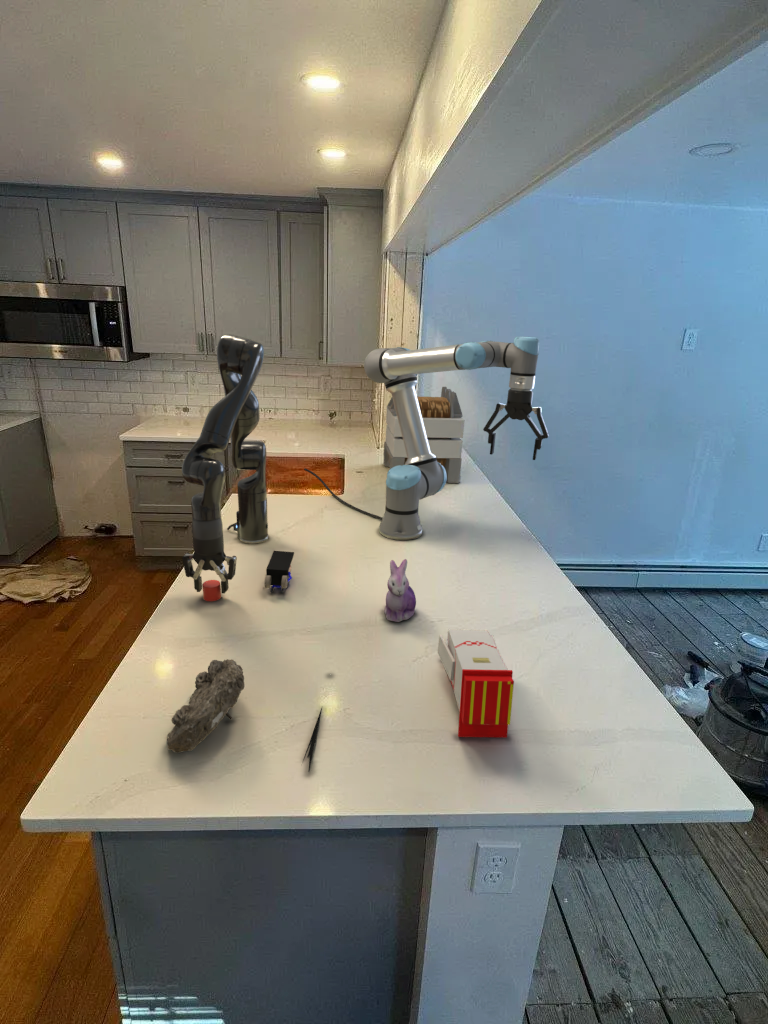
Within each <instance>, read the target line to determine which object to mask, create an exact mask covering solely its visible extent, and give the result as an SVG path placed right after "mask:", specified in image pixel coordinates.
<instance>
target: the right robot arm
mask: <svg viewBox="0 0 768 1024" xmlns="http://www.w3.org/2000/svg"><path fill="white" fill-rule="evenodd" d="M539 349H540V340H539V338H538V337H533V336H530V337H529V336H515V338H514V339H513V342H505V341H504V342H503V341H495V340H481V341H479V342H477V341H476V342H475V341H469V342H465V343H460V344H450V345H442V346H435V347H434V346H433V347H426V348H418V349H410V348H407V347H401V346H397V347H385V348H384V347H381V348H376V349H373V350H371V351H370V352H369V353H367V355H366V357H365V359H364V363H363V368H364V372H365V374H366V376H367V377H368V378H369V380H371V381H372V382H374V383H377V384H384V387H385V391H387V392H388V393H390V394H391V398H393V402H394V406H395V410H396V414H397V418H398V422H399V426H400V430H401V434H402V438H403V442H404V445H405V449H406V453H407V457H408V459H407V461H406V463H405V465H402V466H401V465H398V466H395V467H393V468H391V469H390V468H389V470H388V471H387V474H386V479H385V504H384V505H385V507H384V508H385V509H384V513H383V515H382V516H380V515H377V514H374V513H371V512H369V511H365V510H363V509H361V508H359V507H356V506H355V505H352V504H350V503H348V502H347V501H345V500H343V499H342V498H340V496H338V495H336V494H335V493H334V492H333V491H332V490H331V488H329V486H328V485H327V484H326V482H325V481H324V480H323V479H322V478H321V477H320V476H319V475H318V474H316V473H315V472H314V471H312V470H310V469H308V468H305V467H304V468H303V470H304V471H305V472H307V473H309V474H311V475H312V476H314V477H315V478H316V479H317V480H319V482H320V483H321V484H322V485H323V486H324V487H325V489H326V490H327V491H328V492H329V493H330V495H332V496H333V497H334V498H335V499H336V500H338V502H340V503H342V504H343V505H345V506H347V507H349V508H351V509H353V510H355V511H357V512H359V513H362V514H364V515H367V516H369V517H372V518H375V519H378V520H381V522H379V526H378V533H379V534H380V535H381V536H382V537H385V538H387V539H389V540H395V541H410V540H415V539H418V538H420V537H421V536H422V535H423V525H422V524H421V518H420V515H419V507H420V506H419V505H420V500H423V499H425V498H428V497H430V496H434V495H436V494H438V493H439V492H441V491H442V490H443V489H444V488H445V486H446V483H447V481H446V480H447V474H446V470H445V468H444V467H443V466H442V465H441V464H440V463H439V462H437V458H436V456H435V455H434V454H432V453H431V452H430V448H429V444H428V440H427V436H426V432H425V428H424V424H423V419H422V415H421V411H420V407H419V403H418V399H417V391H416V386H417V384H418V377H417V376H418V375H421V374H431V373H433V374H434V373H441V372H443V373H444V372H453V371H466V370H468V371H469V370H470V371H471V370H477V369H484V368H504V369H505V368H506V369H510V374H509V383H508V388H509V389H508V391H507V397H506V398H507V399H506V403H505V404H504V403H502V402H497V404H496V405H495V409H494V411H493V413H492V415H491V416H490V417H489V419H488V421H487V423H486V424H485V425H484V427H483V428H482V430H483V432H486V433H487V435H488V437H487V444H490V448H489V455H491V456H492V455H493V454H494V453H495V445H496V436H497V435H496V433H497V432H495V431H496V430H498V428H499V427H501V426H502V425H503V424H504V423H505V422H506V421H507V420H508V419H509V418H510V419H511V420H518V421H523V420H524V421H525V422H526V423H527V425H528V426H529V428H531V431H532V432H533V433H534V435H535V436H536V437H535V439H534V447H533V454H532V461H536V459H537V456H538V455H537V454H538V450H541V449H542V444H543V440H544V439H548V438H549V437H550V433H549V430H548V427H547V425H546V422H545V419H544V417H543V413H542V411H543V409H542V408H543V407H542V406H533V398H534V397H533V396H534V391H533V390H534V388H535V382H536V372H537V365H538V358H539V354H540V351H539ZM503 409H504V410H505V412H506V414H505V415H504V416H503V417H502V418H501V419H500V420H499V421H498V422H497V423H496V424H494V426H493V427H491V426H492V424H493V423H494V421H495V420H496V418H497V416H498V415H499V413H500V412H501V411H503ZM532 412H533V413H534V415H536V418H537V421H538V424H539V426H540V428H541V431H540V429H539V428H538V426H537V425H536V424H535V422H534V421H533V418H532V417H531V415H530V414H531V413H532Z"/></svg>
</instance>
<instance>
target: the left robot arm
mask: <svg viewBox="0 0 768 1024" xmlns="http://www.w3.org/2000/svg"><path fill="white" fill-rule="evenodd" d="M216 346H217V347H216V362H217V366H218V371H219V374H220V379H221V382H222V386H223V393H224V396H223V397H222V398H221V399H220V400H219V401H217V402H216V403H215V404H214V405H213V406H212V407H211V409H210V410H209V412H208V413H207V416H206V417H205V420H204V423H203V426H202V429H201V431H200V434H199V437H198V439H197V440H196V441H195V443H194V444H193V445H192V447H191V448H190V450H189V452H188V453H187V455H186V456H185V457H184V460H183V462H182V465H181V475H182V477H183V479H184V480H185V481H186V482H187V483H189V484H193V485H197V486H201V487H203V491H202V492H198V493H195V494H194V495H192V497H191V498H190V499H191V501H190V507H191V534H192V546H193V553H189V552H185V554H184V555H183V556H182V557H181V560H182V564H183V569H184V573H185V576H186V578H191V579H193V585H194V586H193V587H194V590H195V591H196V592H197V593H201V591H203V586H202V584H203V581H202V576H201V574H202V572H203V571H211V572H215V574H216V575H217V576H218V577H219V579H220V580H221V581H220V586H221V595H223V594H224V595H225V594H226V592H227V591H229V589H230V588H229V581H231V580H232V579H233V578H234V577H235V575H236V569H237V559H238V557H237V556H236V555H232V556H228V555H227V554H226V553H225V543H224V527H223V525H224V524H223V519H222V510H221V508H222V507H221V499H222V495H223V490H224V486H225V482H226V476H227V475H226V469H225V466H224V464H223V463H222V462H221V461H220V460H219V459H216V458H211V457H212V456H213V455H214V454H217V453H222V452H223V453H224V452H225V451H226V450H227V448H228V446H229V443H230V459H231V463H232V466H233V468H234V469H235V470H238V471H255V472H253V473H252V474H251V475H249V476H247V477H244V478H241V479H240V480H238V481H237V485H236V486H237V504H238V505H237V506H238V510H237V511H236V512H235V515H236V522H234V523H232V524H229V526H228V527H227V528H226V530H227V531H230V529H231V528H232V529H233V532H236V534H237V535H236V536H237V539H238V540H239V541H241V542H242V543H244V544H260V543H264V542H266V541H267V540H269V521H268V519H269V518H268V491H267V490H268V489H267V487H268V486H267V447H266V444H265V442H264V441H262V440H246V439H247V438H248V436H250V434H252V432H253V431H255V429H256V428H257V426H258V424H259V423H260V419H261V418H260V417H261V415H260V413H261V412H260V403H259V399H258V397H257V395H256V394H255V392H254V390H253V388H254V385H255V384H256V381H257V379H258V377H259V374H260V372H261V369H262V367H263V363H264V359H265V348H264V346H263V343H262V342H259V341H257V340H253V339H251V338H246V337H242V336H239V335H235V334H229V333H227V334H224V335H222V336H221V337H220V338H219V340H218V342H217V345H216ZM193 560H194V561H195V563H196V565H197V566H196V568H195V569H194V566H193ZM224 562H226V565H227V566H228V571H227V570H226V566H225V564H224Z"/></svg>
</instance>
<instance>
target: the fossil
mask: <svg viewBox="0 0 768 1024" xmlns="http://www.w3.org/2000/svg"><path fill="white" fill-rule="evenodd" d="M243 670H244V669H243V667H242V665H240V664H237V662H236V661H235V660H234V659H232V658H231V659H227V658H226V659H224V660H223V661H222V660H217V659H212V660H211V661H210V663H209V665H208V666H207V671H201V672H199V673H198V674H197V675H196V676H195V680H194V684H195V685H194V687H195V689H194V690H193V693H192V694H191V697H190V698H189V700H188V704H184V705H182V706H181V707H180V709H177V710H176V711H175V713H174V715H173V716H172V718H171V723H172V724H173V727H172V730H171V731H170V732H168V734H167V738H166V741H167V742H166V745H167V749H168V750H169V751H173V752H174V753H176V754H178V753H182V752H188V751H189V752H192V751H193V750H195V748H196V747H197V746H199V744H200V743H201V742H203V741H204V740H205V739H206V738H207V737H208V736H209V735H210V734H211V733H212V732H214V730H215V729H217V727H218V726H219V724H220V722H221V721H222V720H223V719H224V718H225V716H226V717H227V719H229V720H233V717H232V715H230V714H229V710H230V709H231V708H234V706H235V704H236V703H237V702H238V699H239V697H240V695H241V693H242V691H243V690H245V689H244V688H245V675H244V671H243Z"/></svg>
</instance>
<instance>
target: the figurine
mask: <svg viewBox="0 0 768 1024" xmlns="http://www.w3.org/2000/svg"><path fill="white" fill-rule="evenodd" d="M407 567H408V559H406V558H404V559H403V560H402V561H401V563H400V565H399V566H398V565H397V563H396V562H395V561H394V560H393V559H391V560H390V561H389V570H390V576H389V578H388V579H387V589H388V591H387V592H386V594H385V595H386V596H385V607H384V615H385V616H386V620H387V621H391V622H395V623H400V622H402V621H406V620H409V619H410V618H411V617H413V616H414V615H415V610H416V606H417V597H416V593H415V591H414V590H413V587H411V586H410V582H409V579H408V577H407V574H406V571H407Z"/></svg>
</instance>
